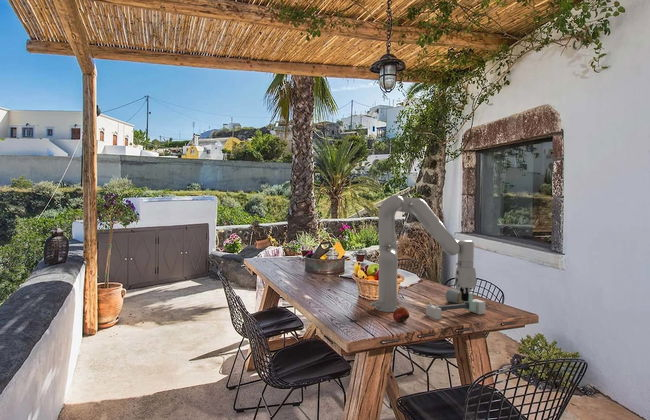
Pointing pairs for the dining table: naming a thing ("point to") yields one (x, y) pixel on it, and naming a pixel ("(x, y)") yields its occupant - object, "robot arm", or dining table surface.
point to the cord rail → (436, 310)
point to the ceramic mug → (454, 296)
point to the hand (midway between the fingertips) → (464, 300)
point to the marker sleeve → (470, 303)
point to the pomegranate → (400, 314)
